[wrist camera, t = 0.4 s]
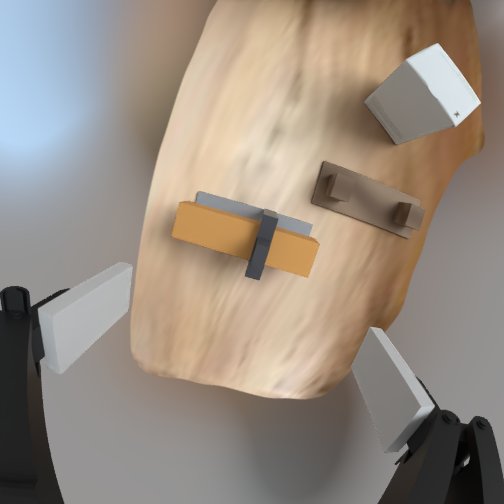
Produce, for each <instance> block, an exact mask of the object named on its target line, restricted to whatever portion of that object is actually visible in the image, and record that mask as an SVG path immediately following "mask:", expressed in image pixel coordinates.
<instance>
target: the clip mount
mask: <svg viewBox="0 0 504 504" xmlns="http://www.w3.org/2000/svg"><path fill="white" fill-rule="evenodd" d="M196 203H198V204H201V205H205V206H208V207H212V208H215V209H219V210H222V211H226V212H229V213H233V214H236V215H240V216H243V217H246V218H250V219H253V220H257V221H260V222H261V220H262V216H263V212H264V209H261V208H257V207H254V206H251V205H247V204H244V203H240V202H237V201H233V200H230V199H226V198H223V197H219V196H216V195H212V194H209V193H205V192H201V191H199V192H198V196H197V200H196ZM277 215H278V218H279V219H278V223H277V226H276V227H280V228H283V229H286V230H289V231H292V232H296V233H299V234H302V235H305V236H308V237H309V234H310V231H311V228H312V224H309V223H306V222H303V221H300V220H296V219H293V218H290V217H287V216H284V215H281V214H277Z"/></svg>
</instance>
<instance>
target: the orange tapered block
mask: <svg viewBox="0 0 504 504" xmlns="http://www.w3.org/2000/svg"><path fill="white" fill-rule="evenodd" d="M260 224H261V222H260V221H257V220H253V219H250V218H246V217H243V216H240V215H236V214H233V213H229V212H226V211H222V210H219V209H215V208H212V207H208V206H205V205H201V204H198V203H194V202H191V201H184V202H179V206H178V210H177V214H176V218H175V223H174V227H173V231H172V236H171V237H174V238H177V239H181V240H184V241H187V242H190V243H194V244H197V245H200V246H204V247H207V248H210V249H213V250H217V251H220V252H223V253H227V254H230V255H233V256H237V257H240V258H243V259H247V260H250V257H251V254H252V250H253V247H254V244H255V240H256V237H257V234H258V230H259V227H260ZM319 245H320V244H319V243H318V242H317V241H316V239H315V238H312V237H308V236H305V235H302V234H299V233H296V232H292V231H289V230H286V229H283V228H280V227H276V229H275V232H274V236H273V239H272V242H271V245H270V249H269V252H268V256H267V259H266V262H265V265H267V266H270V267H273V268H277V269H280V270H283V271H287V272H290V273H294V274H297V275H300V276H304V277H307V278H308V276H309V273H310V270H311V268H312V265H313V262H314V259H315V256H316V253H317V251H318V248H319Z"/></svg>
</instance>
